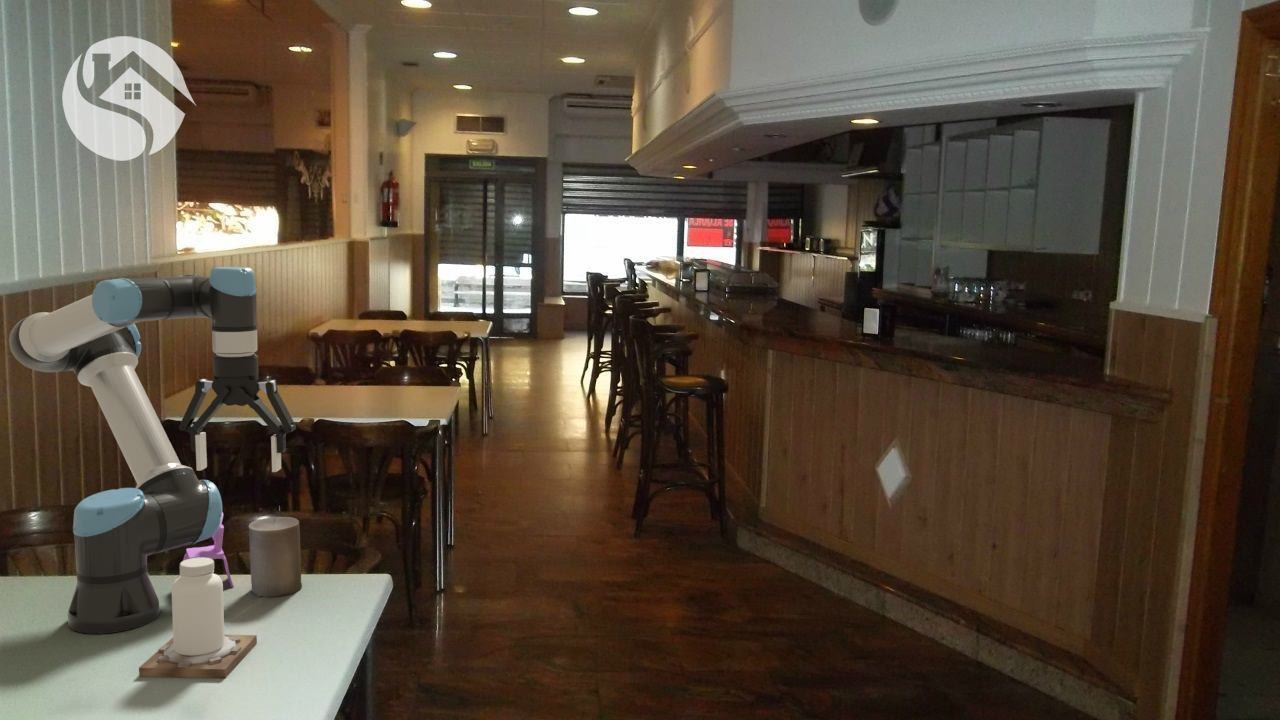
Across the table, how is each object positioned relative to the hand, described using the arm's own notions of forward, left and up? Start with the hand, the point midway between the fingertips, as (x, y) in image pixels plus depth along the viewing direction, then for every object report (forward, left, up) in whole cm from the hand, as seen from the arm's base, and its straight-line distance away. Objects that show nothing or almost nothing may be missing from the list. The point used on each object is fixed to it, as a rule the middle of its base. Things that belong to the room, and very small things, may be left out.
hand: (239, 469), depth 190 cm
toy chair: (-14, +18, -29) cm, 37 cm away
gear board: (-1, -17, -29) cm, 33 cm away
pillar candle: (0, +17, -29) cm, 34 cm away
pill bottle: (-1, -17, -27) cm, 32 cm away
